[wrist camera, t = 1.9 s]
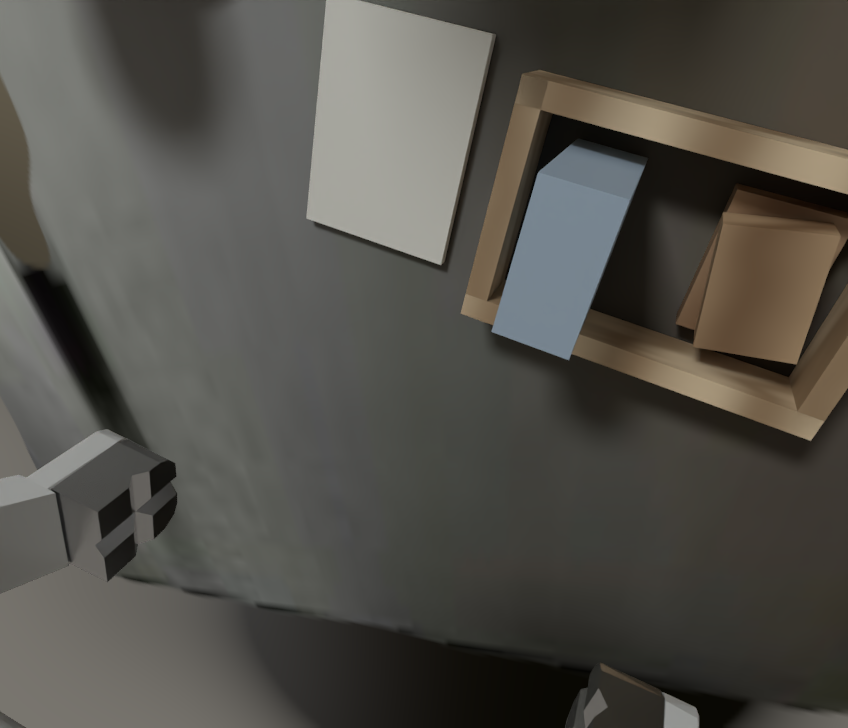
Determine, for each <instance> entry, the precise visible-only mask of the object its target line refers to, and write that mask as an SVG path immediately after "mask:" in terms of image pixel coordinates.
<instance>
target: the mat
mask: <svg viewBox="0 0 848 728" xmlns="http://www.w3.org/2000/svg"><path fill="white" fill-rule="evenodd" d="M495 38H496V34H492V33H488V32H484V31H480V30H476V29H472V28H468V27H464V26H460V25H456V24H452V23H448V22H444V21H440V20H436V19H432V18H428V17H424V16H420V15H416V14H412V13H408V12H404V11H400V10H396V9H392V8H388V7H384V6H380V5H376V4H372V3H368V2H364V1H360V0H326V10H325V21H324V32H323V43H322V54H321V65H320V76H319V87H318V97H317V108H316V119H315V130H314V141H313V152H312V163H311V174H310V185H309V196H308V207H307V219H310V220H312V221H315V222H318V223H321V224H324V225H327V226H330V227H333V228H335V229H338V230H341V231H344V232H347V233H350V234H353V235H356V236H358V237H361V238H364V239H367V240H370V241H373V242H376V243H379V244H381V245H384V246H387V247H390V248H393V249H396V250H399V251H402V252H404V253H407V254H410V255H413V256H416V257H419V258H422V259H425V260H427V261H430V262H433V263H436V264H439V265H442V264H443V263H444V262H445V258H446V253H447V249H448V245H449V240H450V236H451V231H452V227H453V223H454V218H455V214H456V210H457V205H458V201H459V196H460V192H461V188H462V183H463V179H464V174H465V170H466V166H467V161H468V157H469V153H470V148H471V144H472V139H473V135H474V131H475V126H476V122H477V117H478V113H479V109H480V104H481V100H482V95H483V91H484V87H485V82H486V78H487V74H488V69H489V65H490V60H491V56H492V52H493V47H494V43H495Z"/></svg>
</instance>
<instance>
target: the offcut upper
mask: <svg viewBox="0 0 848 728" xmlns="http://www.w3.org/2000/svg"><path fill="white" fill-rule="evenodd" d="M840 237H841V235H840V233H839V232H838V230H837V228H836V226H835V224H834V223H830V222H820V221H810V220H799V219H789V218H779V217H768V216H758V215H748V214H737V213H727V212H723V214H722V218H721V222H720V226H719V230H718V234H717V239H716V243H715V247H714V251H713V255H712V259H711V263H710V268H709V272H708V276H707V280H706V284H705V288H704V292H703V297H702V301H701V305H700V309H699V313H698V317H697V321H696V326H695V330H694V341H693V347H696V348H702V349H708V350H714V351H720V352H726V353H731V354H737V355H743V356H749V357H755V358H761V359H767V360H773V361H779V362H785V363H791V364H797V362H798V359H799V356H800V353H801V350H802V348H803V345H804V342H805V339H806V336H807V333H808V330H809V327H810V324H811V321H812V319H813V316H814V313H815V310H816V307H817V304H818V301H819V298H820V295H821V292H822V290H823V287H824V284H825V281H826V278H827V275H828V272H829V269H830V266H831V263H832V261H833V258H834V255H835V252H836V249H837V246H838V243H839V240H840Z"/></svg>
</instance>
